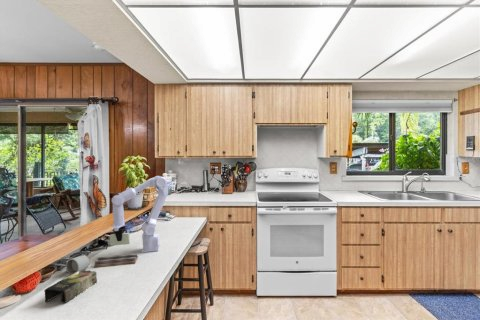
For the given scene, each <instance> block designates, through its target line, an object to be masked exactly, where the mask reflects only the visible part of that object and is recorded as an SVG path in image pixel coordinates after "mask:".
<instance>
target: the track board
mask: <svg viewBox="0 0 480 320" xmlns="http://www.w3.org/2000/svg"><path fill="white" fill-rule="evenodd" d="M138 259H139V255H138V253H131V254H121V255H120V254H119V255H111V256H110V255H109V256H99V257H97V260H95V261H94V265H93V268H95V269H96V268H105V267H114V266H122V265H132V264H133V265H135V264H136V263H137V260H138Z"/></svg>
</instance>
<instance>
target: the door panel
mask: <svg viewBox="0 0 480 320" xmlns="http://www.w3.org/2000/svg"><path fill="white" fill-rule="evenodd" d="M109 241H110V243H109V245H110V246H112V247H113V246H122V245H130V243H131V242H130V241H131V239H130V232H124V233H122V241H117V238H116V235H115V233H110V235H109Z"/></svg>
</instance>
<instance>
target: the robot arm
mask: <svg viewBox="0 0 480 320" xmlns="http://www.w3.org/2000/svg"><path fill="white" fill-rule="evenodd" d="M149 187H151V188H152V187H154V188H156V189H157V192H158V195H157V197H156V199H155V201H154V203H153V206H152V208H151V211H150V214H149V215H148V217H147V218H146V220H145V222H144V223H142V225H141V231H142V234H141V235H142V236H141V238H142V240H141V241H142V250H141V253H149V252H159V249H160V247H161V245H160V234H159V233H156V227H157V220H158V218H159V215H160V213H161V211H162V209H163V207H164V205H165V202H166V200H167V197H168V194H169V188H168V181H167V179H166V178H165V177H163V176H161V175H156V176H154V177H151V178H149V179H147V180H145V181H144V182H142V183H140V184H138V185H137V186H135V187H134V188H133V187H127V188H125V190H124V191H122V192H118V193H117V194H115V195H114V196H112V198H111V203H112V220H113V224H111V227H113V229H112V232H113V234H115V235H116V238H117V241H122V233H125V230H126V223H125V211H124V203H126V202H128V201H130V200H132V199H133V198H135V197H136V196H137V193H139V192H141V191H144V190H146V189H147V188H149Z"/></svg>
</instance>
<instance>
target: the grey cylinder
mask: <svg viewBox="0 0 480 320" xmlns="http://www.w3.org/2000/svg"><path fill="white" fill-rule="evenodd" d="M90 260H91V259H89V257H88V256H87V255H78V256H75V257H74V258H70V259H68V260H67V262H66V265H65V270H66V271H65V272H67V273H68V274H69V275H72V274H74V273H76V272H78V271H86V270H87V269H88V268H89V266H90V264H91V262H90Z"/></svg>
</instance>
